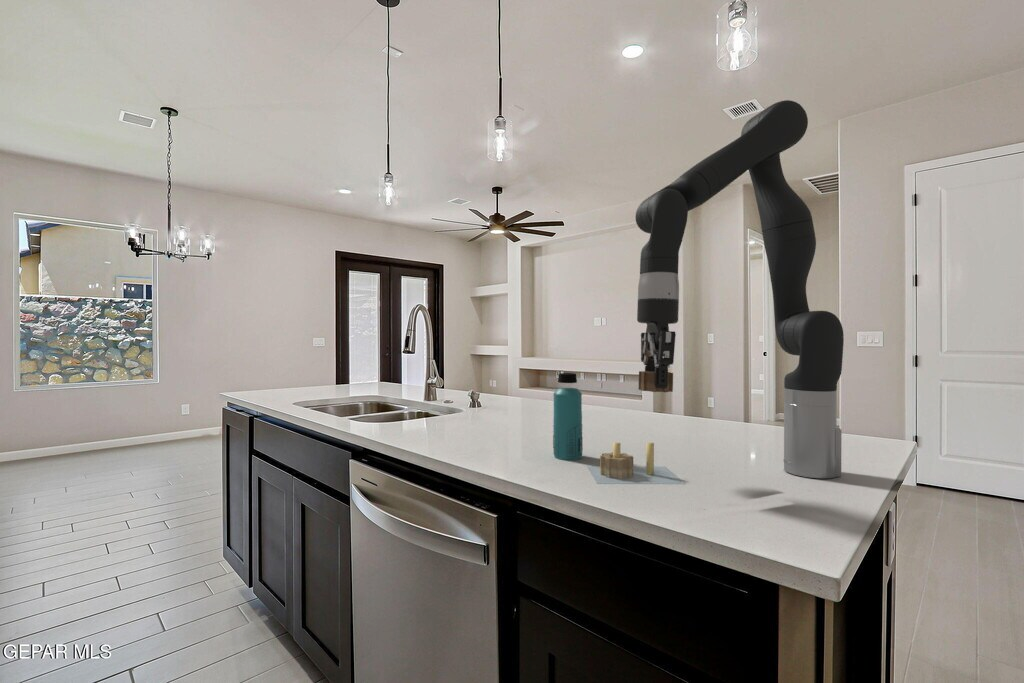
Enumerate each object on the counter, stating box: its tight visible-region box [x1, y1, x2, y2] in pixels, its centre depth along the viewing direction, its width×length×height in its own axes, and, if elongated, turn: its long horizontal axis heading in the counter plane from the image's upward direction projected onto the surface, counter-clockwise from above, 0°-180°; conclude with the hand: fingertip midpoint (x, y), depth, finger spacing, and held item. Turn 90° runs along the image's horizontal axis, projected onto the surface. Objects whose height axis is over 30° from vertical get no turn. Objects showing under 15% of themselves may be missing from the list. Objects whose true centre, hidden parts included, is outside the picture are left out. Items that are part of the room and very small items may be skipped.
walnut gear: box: [638, 370, 674, 393], centre depth 93 cm, size 6×6×4 cm
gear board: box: [586, 441, 687, 485], centre depth 93 cm, size 16×12×8 cm
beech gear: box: [599, 451, 634, 479], centre depth 93 cm, size 6×6×4 cm
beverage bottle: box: [552, 372, 584, 461], centre depth 107 cm, size 6×7×20 cm
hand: (655, 386), depth 93 cm, fingers closed on walnut gear, 6 cm apart
